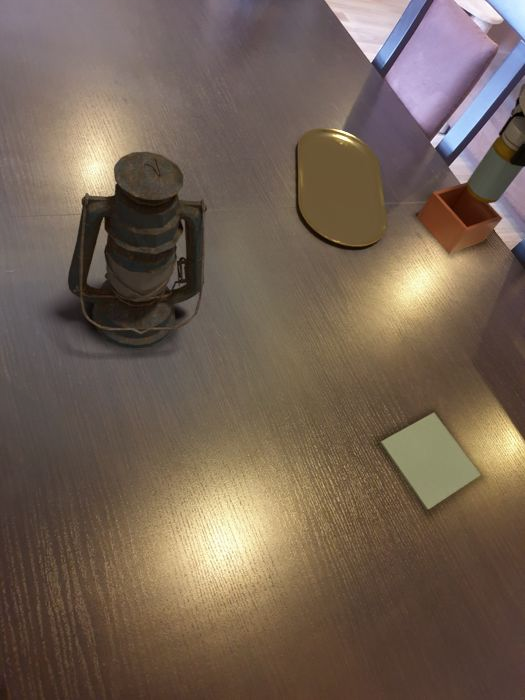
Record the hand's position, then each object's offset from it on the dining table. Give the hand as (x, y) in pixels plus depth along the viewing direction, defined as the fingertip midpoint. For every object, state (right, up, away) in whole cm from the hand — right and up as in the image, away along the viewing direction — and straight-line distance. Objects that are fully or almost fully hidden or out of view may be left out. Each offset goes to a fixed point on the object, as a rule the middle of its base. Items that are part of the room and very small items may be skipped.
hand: (511, 149), depth 103 cm
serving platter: (-30, -3, +16) cm, 33 cm away
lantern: (-66, -32, -14) cm, 74 cm away
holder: (-5, -11, +17) cm, 21 cm away
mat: (-19, -54, -14) cm, 59 cm away
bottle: (-2, -6, +8) cm, 10 cm away
